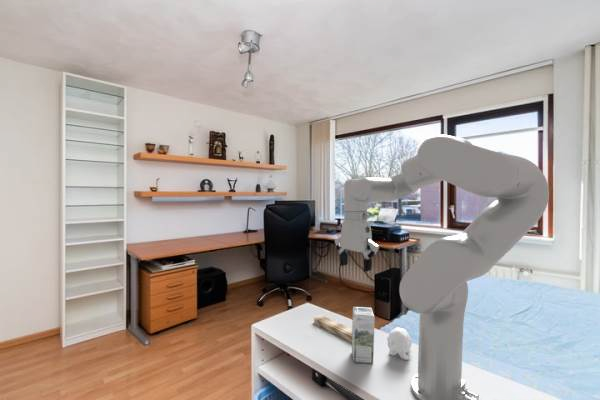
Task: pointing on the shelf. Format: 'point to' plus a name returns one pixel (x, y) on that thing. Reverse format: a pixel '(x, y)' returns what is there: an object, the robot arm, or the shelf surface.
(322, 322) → the plank
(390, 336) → the white figurine
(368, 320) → the syrup box
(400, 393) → the shelf surface
